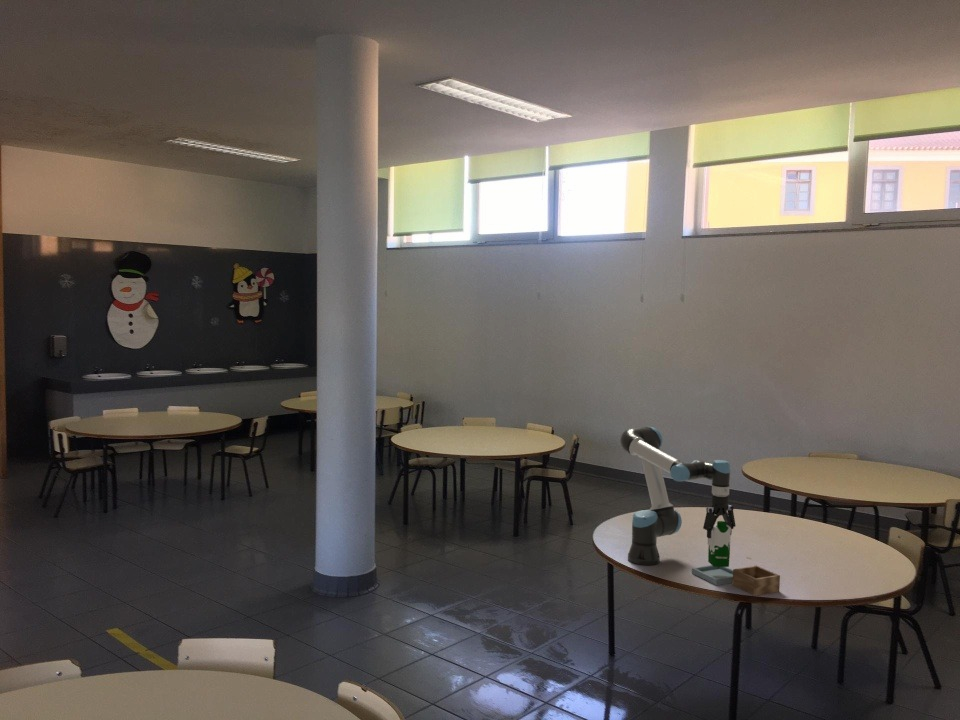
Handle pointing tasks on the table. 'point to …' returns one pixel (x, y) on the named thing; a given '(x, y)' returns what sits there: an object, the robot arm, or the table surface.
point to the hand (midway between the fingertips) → (718, 543)
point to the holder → (756, 580)
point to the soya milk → (720, 545)
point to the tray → (714, 574)
